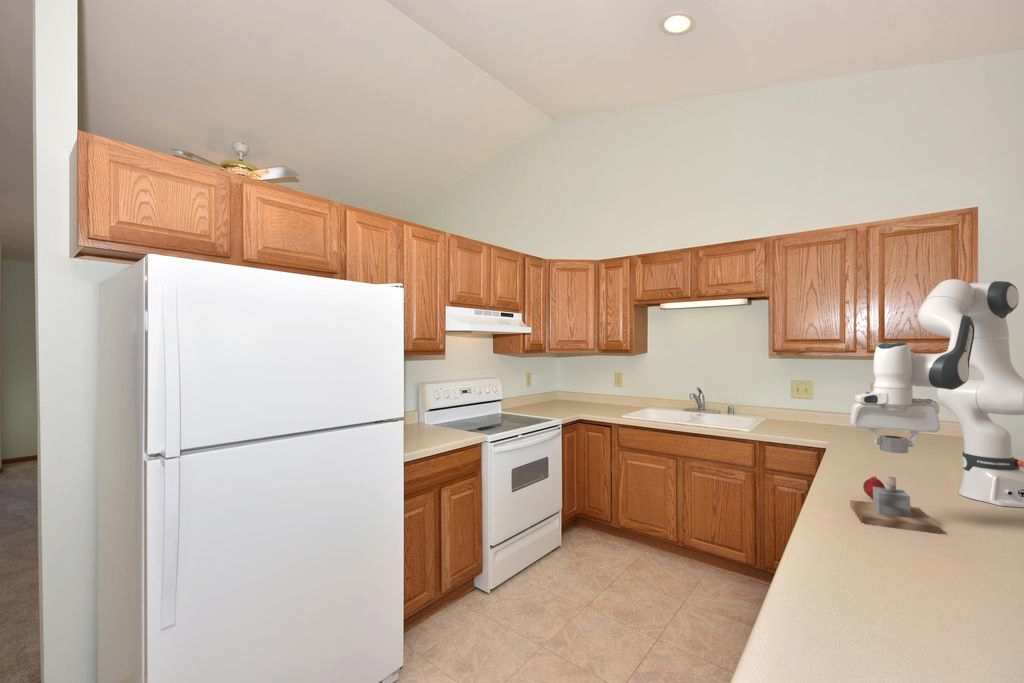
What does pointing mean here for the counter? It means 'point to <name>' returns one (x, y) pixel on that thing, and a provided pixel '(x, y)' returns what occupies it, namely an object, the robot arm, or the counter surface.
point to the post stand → (893, 510)
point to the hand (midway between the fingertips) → (893, 445)
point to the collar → (894, 444)
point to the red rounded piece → (872, 485)
